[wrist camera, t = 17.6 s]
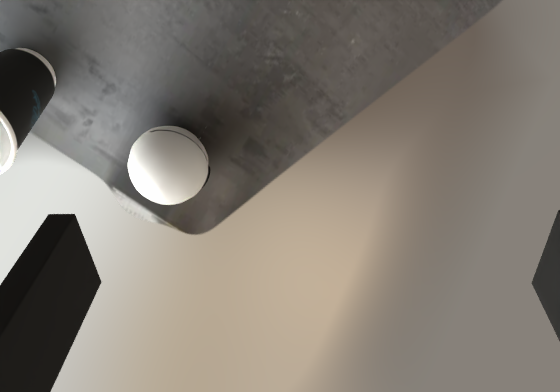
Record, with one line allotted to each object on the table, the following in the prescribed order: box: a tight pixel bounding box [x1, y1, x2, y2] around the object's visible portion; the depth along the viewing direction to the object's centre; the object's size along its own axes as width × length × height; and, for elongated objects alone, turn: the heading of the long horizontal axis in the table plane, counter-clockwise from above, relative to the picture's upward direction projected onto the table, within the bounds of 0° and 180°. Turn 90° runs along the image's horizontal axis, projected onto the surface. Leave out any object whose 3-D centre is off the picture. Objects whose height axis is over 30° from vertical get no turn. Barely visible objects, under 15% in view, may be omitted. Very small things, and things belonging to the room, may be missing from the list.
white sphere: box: [128, 126, 210, 205], centre depth 45 cm, size 10×7×7 cm
